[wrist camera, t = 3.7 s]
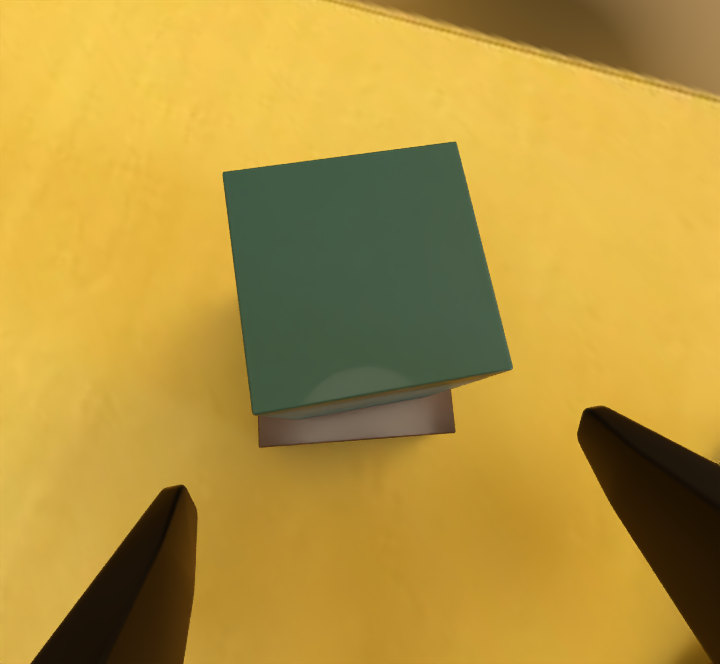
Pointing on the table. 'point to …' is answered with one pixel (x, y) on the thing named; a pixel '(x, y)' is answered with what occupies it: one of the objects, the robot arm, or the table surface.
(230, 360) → the table surface
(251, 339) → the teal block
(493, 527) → the table surface
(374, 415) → the walnut block
